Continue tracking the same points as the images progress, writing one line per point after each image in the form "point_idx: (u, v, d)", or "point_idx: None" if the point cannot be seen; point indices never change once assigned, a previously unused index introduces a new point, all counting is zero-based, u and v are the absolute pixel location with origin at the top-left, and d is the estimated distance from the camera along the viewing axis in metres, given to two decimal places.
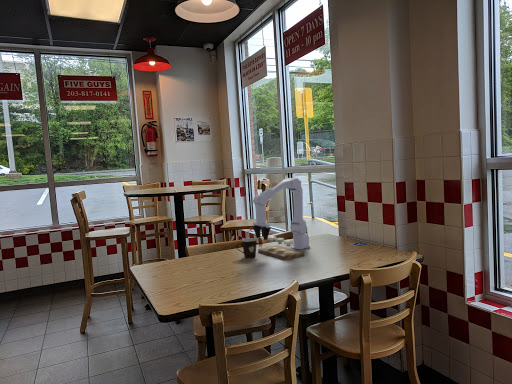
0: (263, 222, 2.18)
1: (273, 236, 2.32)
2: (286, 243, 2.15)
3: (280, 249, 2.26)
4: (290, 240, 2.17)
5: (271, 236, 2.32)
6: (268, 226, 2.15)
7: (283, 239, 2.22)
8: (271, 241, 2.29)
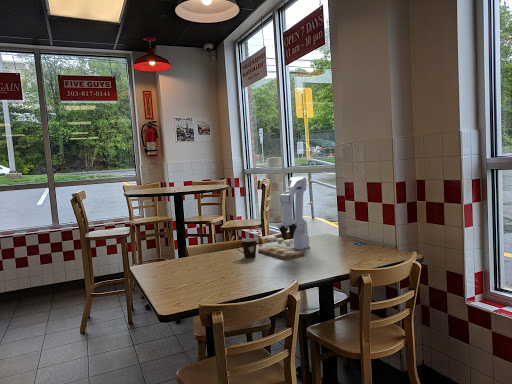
0: (283, 221, 2.14)
1: (273, 236, 2.32)
2: (286, 243, 2.15)
3: (280, 249, 2.26)
4: (290, 240, 2.17)
5: (271, 236, 2.32)
6: (277, 226, 2.12)
7: (283, 239, 2.22)
8: (271, 241, 2.29)
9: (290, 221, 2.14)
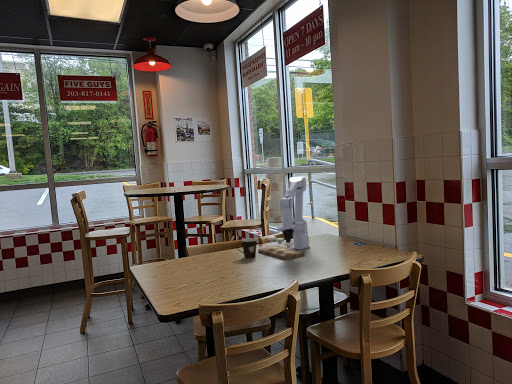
0: (283, 226, 2.15)
1: (273, 236, 2.32)
2: (286, 245, 2.15)
3: (280, 249, 2.26)
4: (290, 242, 2.18)
5: (271, 236, 2.32)
6: (278, 230, 2.12)
7: (283, 239, 2.22)
8: (271, 241, 2.29)
9: (290, 225, 2.14)
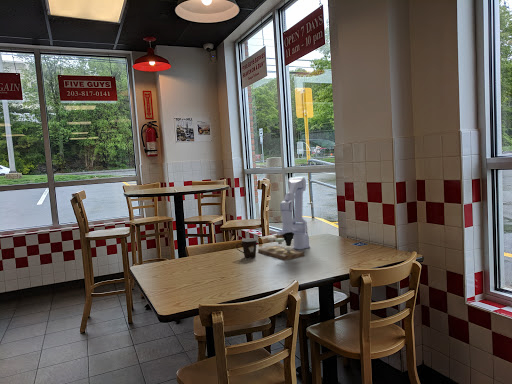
0: (283, 229, 2.15)
1: (273, 236, 2.32)
2: (286, 249, 2.15)
3: (280, 249, 2.26)
4: (290, 246, 2.18)
5: (271, 236, 2.32)
6: (278, 233, 2.12)
7: (283, 239, 2.22)
8: (271, 241, 2.29)
9: (290, 229, 2.14)
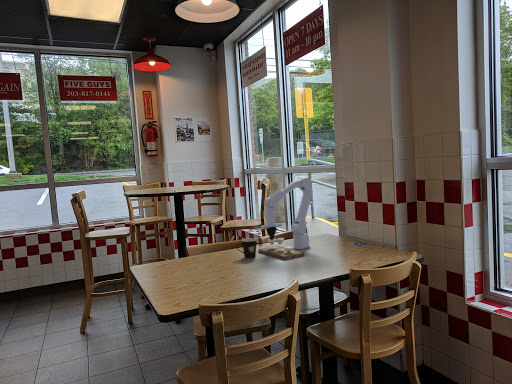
0: (267, 223, 2.28)
1: None
2: (286, 249, 2.15)
3: (280, 249, 2.26)
4: (290, 246, 2.18)
5: None
6: (261, 228, 2.26)
7: (283, 239, 2.22)
8: (271, 243, 2.29)
9: (273, 223, 2.27)
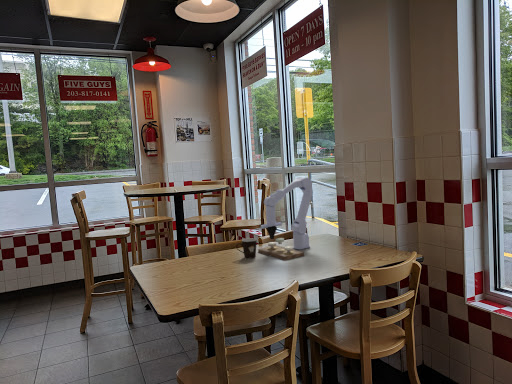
0: (267, 223, 2.28)
1: (273, 242, 2.32)
2: (286, 249, 2.15)
3: (280, 249, 2.26)
4: (290, 246, 2.18)
5: (271, 242, 2.32)
6: (261, 227, 2.26)
7: (283, 239, 2.22)
8: (271, 247, 2.30)
9: (273, 222, 2.27)
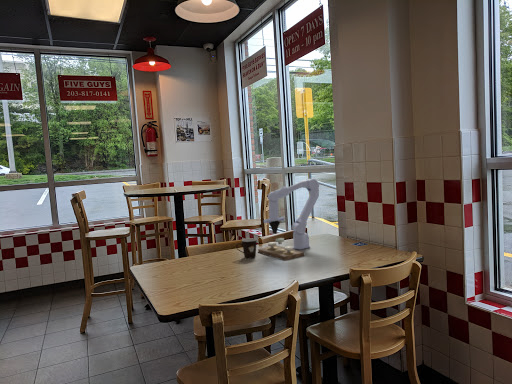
0: (270, 218, 2.32)
1: (273, 242, 2.32)
2: (286, 249, 2.15)
3: (280, 249, 2.26)
4: (290, 246, 2.18)
5: (271, 242, 2.32)
6: (264, 221, 2.29)
7: (283, 239, 2.22)
8: (271, 247, 2.30)
9: (276, 217, 2.31)
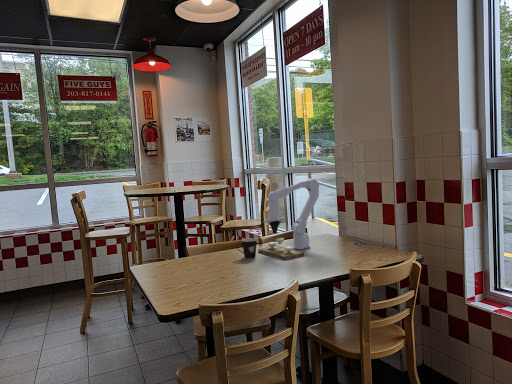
0: (270, 218, 2.32)
1: (273, 242, 2.32)
2: (286, 249, 2.15)
3: (280, 249, 2.26)
4: (290, 246, 2.18)
5: (271, 242, 2.32)
6: (264, 221, 2.29)
7: (283, 239, 2.22)
8: (271, 247, 2.30)
9: (276, 217, 2.31)
